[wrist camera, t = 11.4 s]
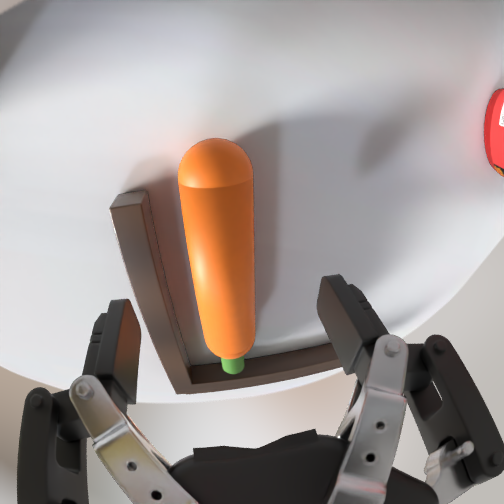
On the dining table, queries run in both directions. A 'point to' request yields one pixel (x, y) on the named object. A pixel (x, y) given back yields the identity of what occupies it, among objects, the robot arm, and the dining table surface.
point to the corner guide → (165, 324)
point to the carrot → (221, 245)
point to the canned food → (495, 131)
